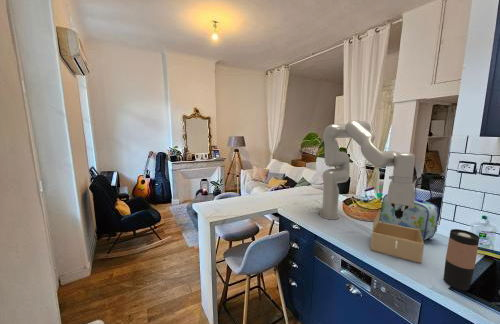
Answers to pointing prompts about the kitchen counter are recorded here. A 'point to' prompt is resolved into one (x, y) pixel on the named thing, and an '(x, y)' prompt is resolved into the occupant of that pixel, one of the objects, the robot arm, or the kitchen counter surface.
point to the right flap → (418, 228)
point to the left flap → (377, 220)
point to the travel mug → (460, 258)
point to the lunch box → (423, 212)
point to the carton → (397, 241)
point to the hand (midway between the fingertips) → (398, 217)
